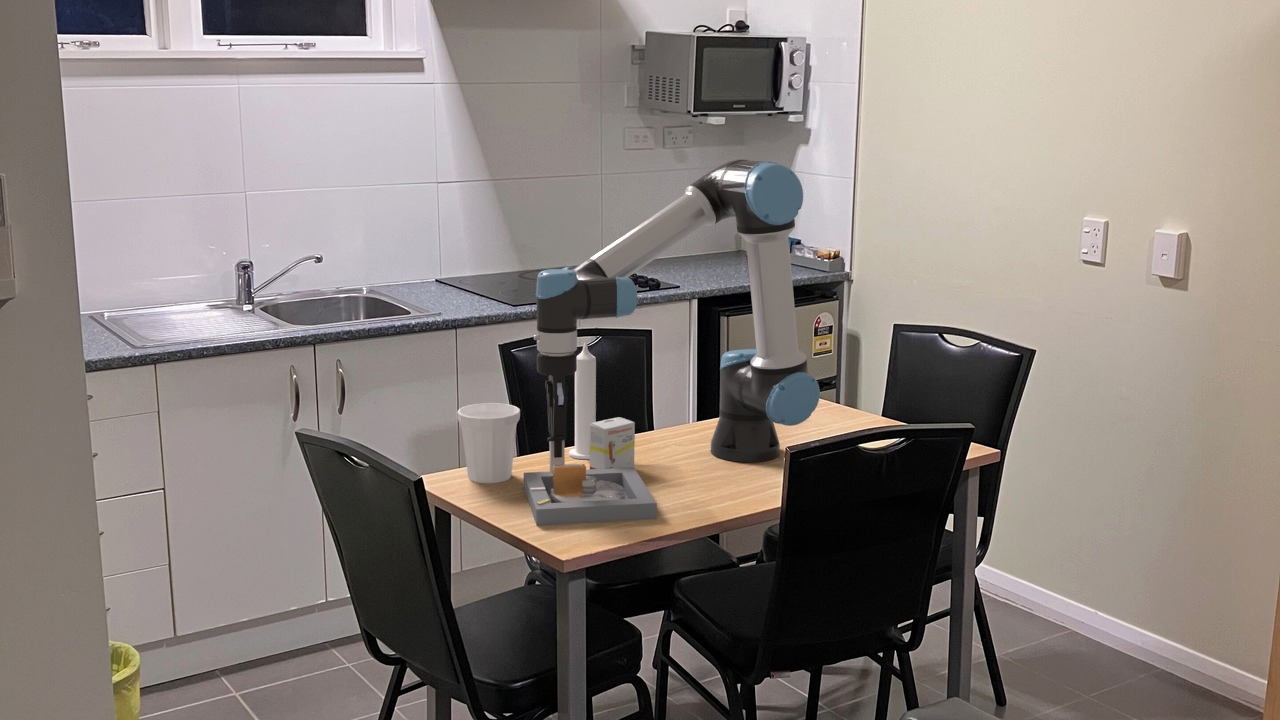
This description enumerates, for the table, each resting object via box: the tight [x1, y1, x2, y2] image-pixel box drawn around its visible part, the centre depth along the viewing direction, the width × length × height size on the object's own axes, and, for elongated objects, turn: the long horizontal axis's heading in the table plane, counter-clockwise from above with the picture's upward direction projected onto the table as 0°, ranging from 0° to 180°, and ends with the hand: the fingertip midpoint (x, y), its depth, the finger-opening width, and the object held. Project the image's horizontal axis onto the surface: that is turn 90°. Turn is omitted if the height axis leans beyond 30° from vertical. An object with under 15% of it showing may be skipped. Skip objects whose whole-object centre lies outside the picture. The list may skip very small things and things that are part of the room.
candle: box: [568, 342, 597, 460], centre depth 269 cm, size 7×7×25 cm
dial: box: [551, 463, 625, 503], centre depth 235 cm, size 14×14×7 cm
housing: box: [523, 466, 658, 526], centre depth 236 cm, size 22×22×5 cm
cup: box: [456, 402, 521, 484], centre depth 250 cm, size 12×12×15 cm
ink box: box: [589, 416, 636, 470], centre depth 255 cm, size 9×5×12 cm, turn 133°
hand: (557, 471), depth 240 cm, fingers closed
